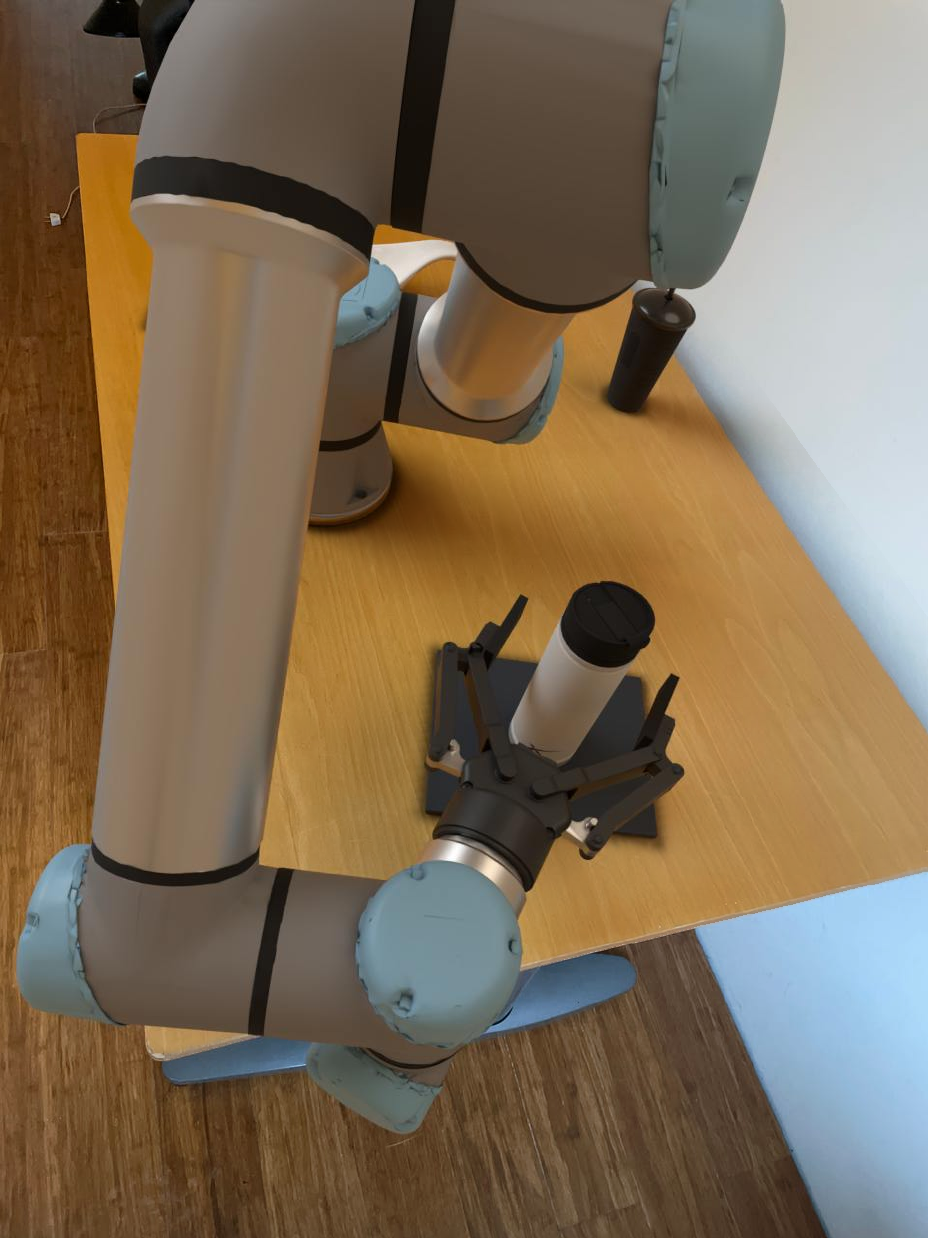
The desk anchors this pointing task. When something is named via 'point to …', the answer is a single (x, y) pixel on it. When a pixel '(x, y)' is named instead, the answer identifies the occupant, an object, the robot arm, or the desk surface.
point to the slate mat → (601, 743)
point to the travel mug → (581, 668)
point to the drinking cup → (648, 345)
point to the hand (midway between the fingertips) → (594, 644)
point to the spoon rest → (412, 256)
